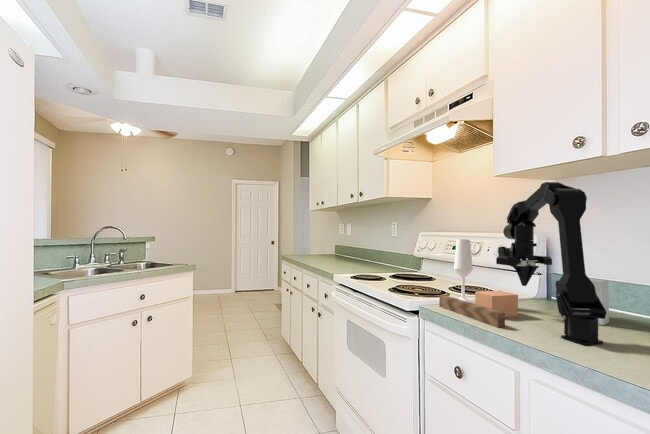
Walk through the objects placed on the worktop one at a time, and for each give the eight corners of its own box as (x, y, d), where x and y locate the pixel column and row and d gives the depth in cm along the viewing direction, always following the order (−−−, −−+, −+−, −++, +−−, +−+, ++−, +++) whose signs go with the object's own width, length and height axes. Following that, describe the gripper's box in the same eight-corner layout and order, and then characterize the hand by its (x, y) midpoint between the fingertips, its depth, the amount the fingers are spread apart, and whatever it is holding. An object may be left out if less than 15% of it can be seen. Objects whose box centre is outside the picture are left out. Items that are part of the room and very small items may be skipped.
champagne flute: (474, 304, 132) (474, 240, 133) (454, 303, 134) (455, 239, 134) (470, 301, 139) (471, 239, 139) (452, 300, 140) (452, 239, 141)
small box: (609, 322, 110) (609, 279, 110) (603, 325, 106) (603, 281, 106) (578, 317, 116) (578, 276, 116) (571, 320, 112) (571, 278, 112)
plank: (504, 327, 102) (504, 313, 103) (498, 327, 102) (498, 313, 102) (445, 306, 129) (445, 295, 129) (439, 306, 129) (439, 295, 129)
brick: (518, 316, 116) (518, 294, 116) (492, 318, 113) (492, 296, 114) (500, 310, 124) (500, 290, 124) (475, 312, 121) (475, 291, 121)
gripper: (526, 239, 133) (526, 281, 133) (484, 239, 128) (484, 283, 127) (553, 240, 122) (553, 286, 122) (509, 240, 117) (509, 288, 116)
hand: (524, 285), depth 122 cm, fingers closed
